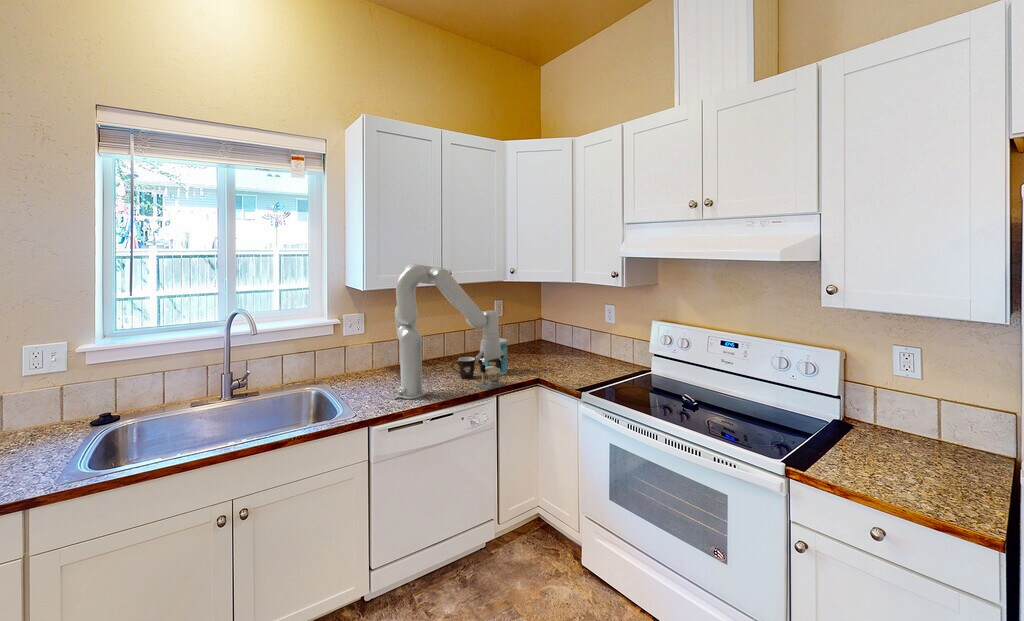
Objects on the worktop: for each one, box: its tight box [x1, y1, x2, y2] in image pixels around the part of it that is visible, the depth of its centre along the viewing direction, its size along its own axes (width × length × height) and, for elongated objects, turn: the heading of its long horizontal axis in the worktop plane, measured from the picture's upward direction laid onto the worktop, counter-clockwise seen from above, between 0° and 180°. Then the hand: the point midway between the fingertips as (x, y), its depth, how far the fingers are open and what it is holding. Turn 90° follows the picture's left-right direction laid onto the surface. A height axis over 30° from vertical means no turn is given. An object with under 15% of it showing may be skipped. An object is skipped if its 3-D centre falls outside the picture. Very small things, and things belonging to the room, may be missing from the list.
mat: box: [475, 381, 507, 391], centre depth 220 cm, size 12×9×1 cm
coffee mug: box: [450, 356, 476, 380], centre depth 233 cm, size 12×9×10 cm
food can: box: [484, 337, 508, 377], centre depth 241 cm, size 12×12×18 cm
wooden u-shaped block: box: [481, 366, 501, 387], centre depth 219 cm, size 6×6×8 cm
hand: (490, 370), depth 219 cm, fingers open, 9 cm apart
